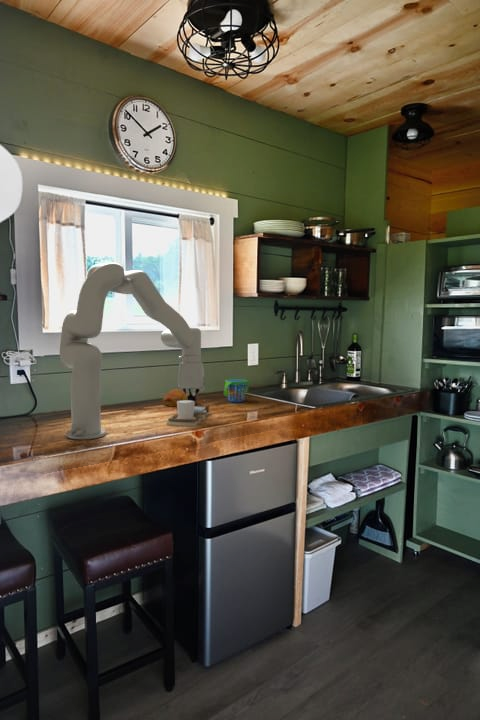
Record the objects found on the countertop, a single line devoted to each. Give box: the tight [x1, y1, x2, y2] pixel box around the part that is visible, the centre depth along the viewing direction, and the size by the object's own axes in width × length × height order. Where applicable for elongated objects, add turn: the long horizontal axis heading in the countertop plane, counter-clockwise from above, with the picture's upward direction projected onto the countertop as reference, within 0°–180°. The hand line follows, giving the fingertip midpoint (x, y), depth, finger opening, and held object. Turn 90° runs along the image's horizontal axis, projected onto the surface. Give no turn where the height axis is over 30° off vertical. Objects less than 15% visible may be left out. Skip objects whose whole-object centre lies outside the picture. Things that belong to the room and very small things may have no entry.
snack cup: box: [223, 378, 249, 403], centre depth 234 cm, size 16×10×10 cm
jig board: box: [166, 404, 210, 427], centre depth 195 cm, size 22×11×4 cm, turn 170°
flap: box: [194, 405, 206, 414], centre depth 200 cm, size 10×9×1 cm
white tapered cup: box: [177, 400, 196, 420], centre depth 189 cm, size 7×7×7 cm
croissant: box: [162, 388, 198, 408], centre depth 226 cm, size 14×16×8 cm
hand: (191, 404), depth 198 cm, fingers closed
